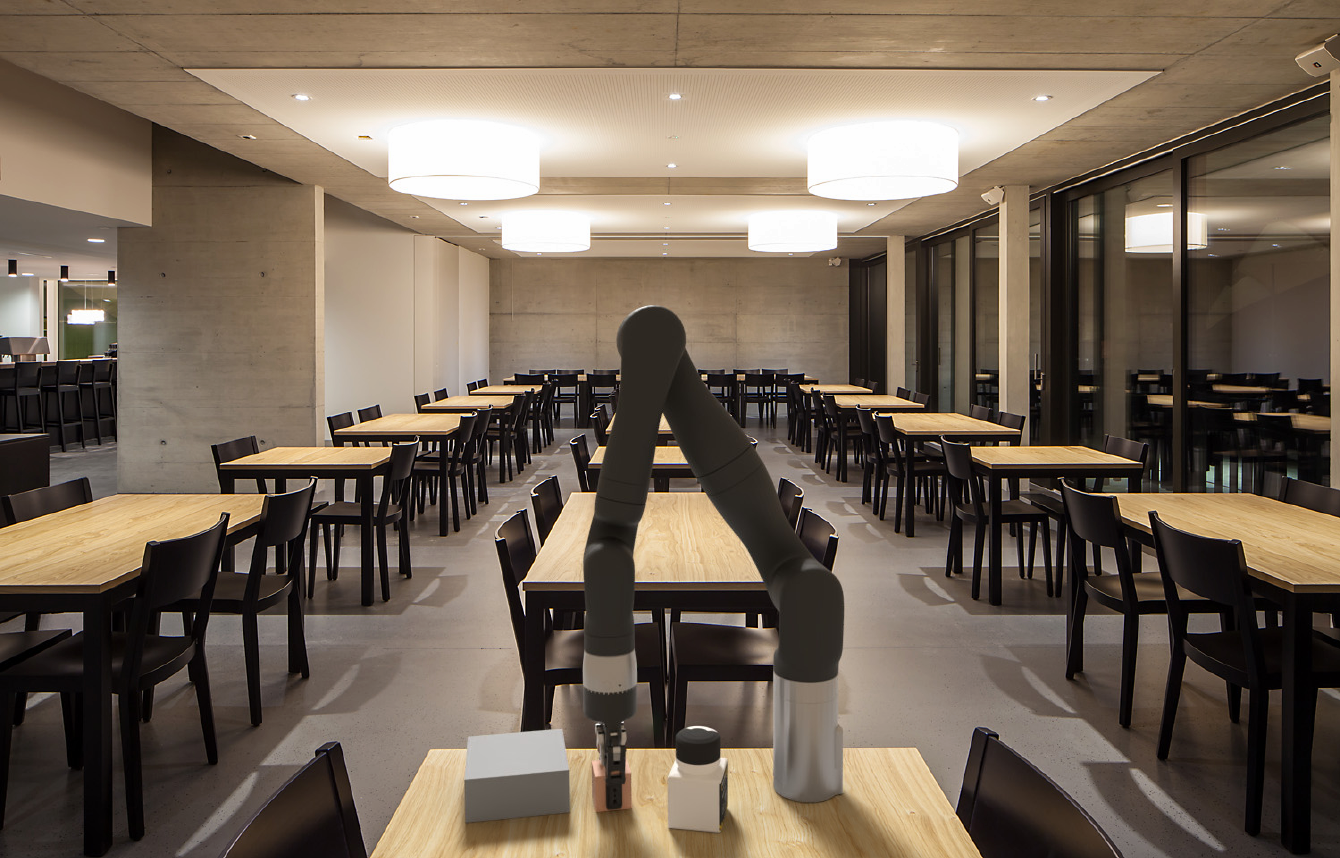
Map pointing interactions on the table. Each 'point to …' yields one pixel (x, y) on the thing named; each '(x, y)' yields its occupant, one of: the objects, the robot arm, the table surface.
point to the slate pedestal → (516, 775)
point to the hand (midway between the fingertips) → (611, 797)
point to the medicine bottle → (698, 782)
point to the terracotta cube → (600, 787)
